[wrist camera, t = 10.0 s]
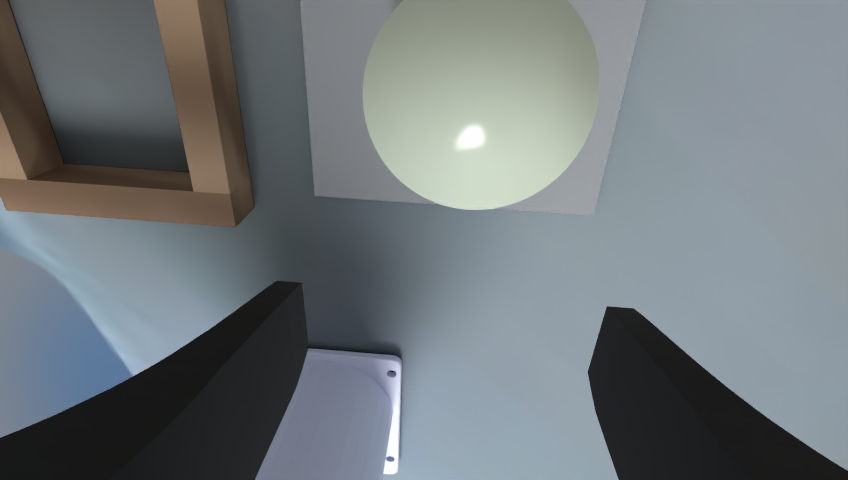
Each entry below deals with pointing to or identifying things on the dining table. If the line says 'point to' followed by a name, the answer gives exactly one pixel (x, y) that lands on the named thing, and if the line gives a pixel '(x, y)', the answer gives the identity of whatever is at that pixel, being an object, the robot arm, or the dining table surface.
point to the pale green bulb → (480, 97)
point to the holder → (126, 187)
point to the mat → (345, 121)
